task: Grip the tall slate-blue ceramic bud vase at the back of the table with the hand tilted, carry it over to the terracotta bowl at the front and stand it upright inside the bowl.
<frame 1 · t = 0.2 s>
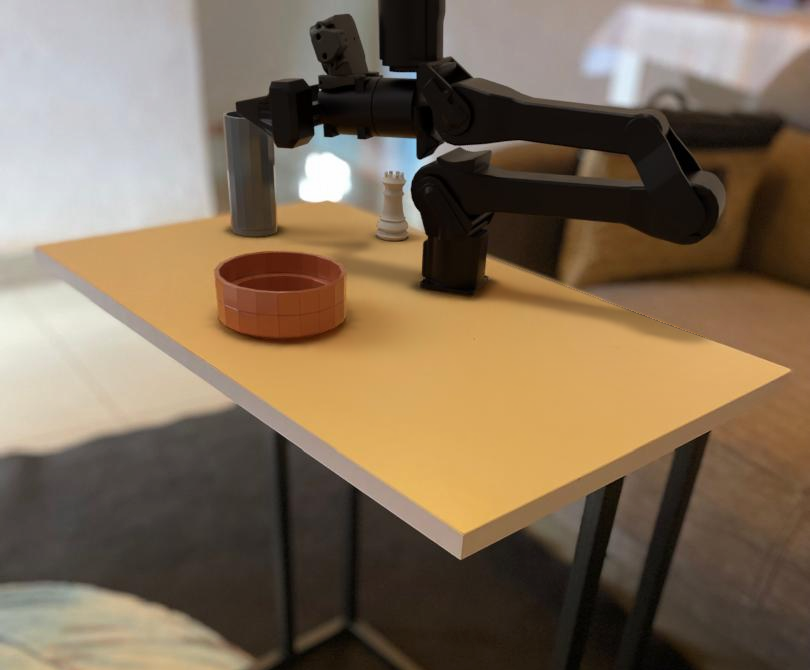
hand: (258, 101, 95), 17 cm above the table, tool horizontal, fingers open, 9 cm apart
bowl: (282, 318, 87), on the table
vase: (254, 230, 112), on the table
rook chess piece: (392, 238, 112), on the table
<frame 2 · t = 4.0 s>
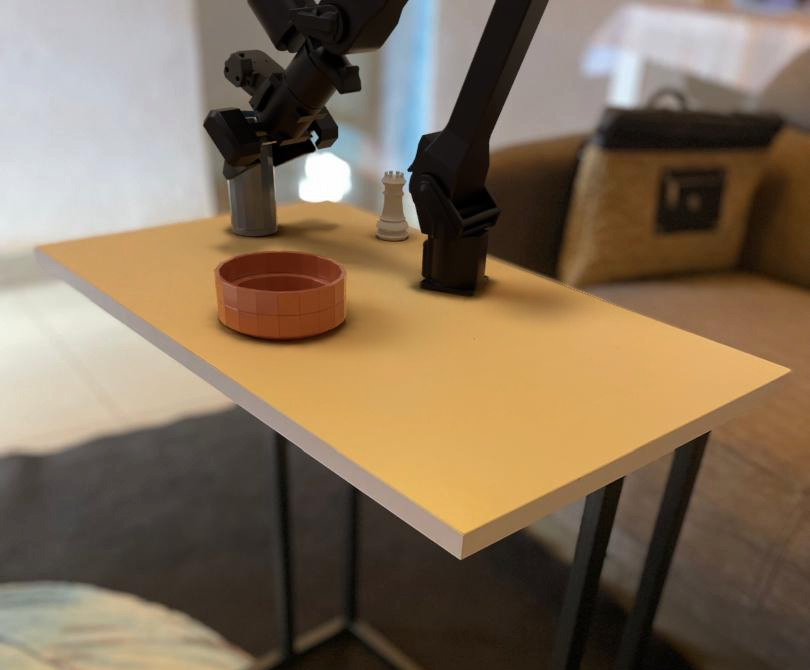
hand: (243, 172, 108), 7 cm above the table, tool tilted 45°, fingers closed on vase, 6 cm apart
vase: (255, 230, 112), on the table, touching gripper
everything else where it was.
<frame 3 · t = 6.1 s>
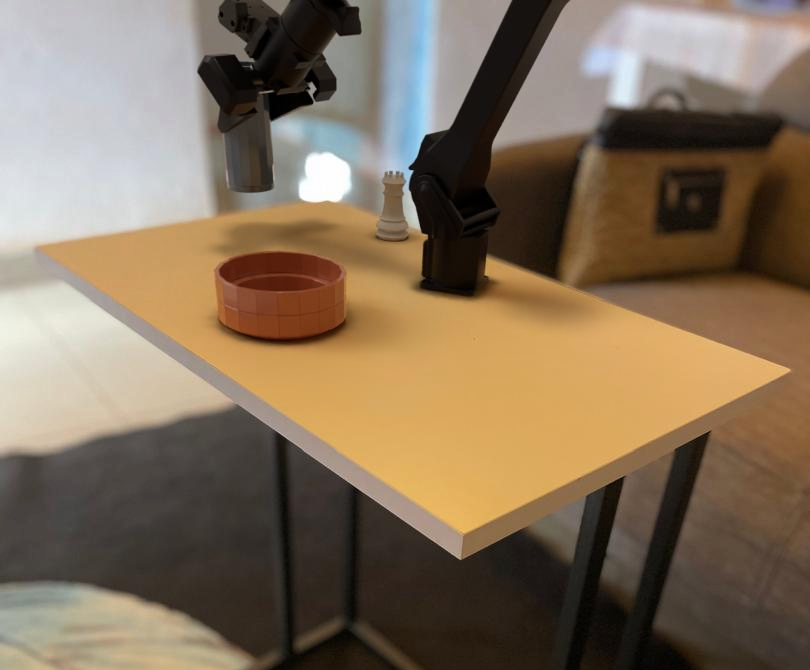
hand: (238, 126, 105), 12 cm above the table, tool tilted 45°, fingers closed on vase, 6 cm apart
vase: (251, 187, 108), point 6 cm above the table, touching gripper
everything else where it was.
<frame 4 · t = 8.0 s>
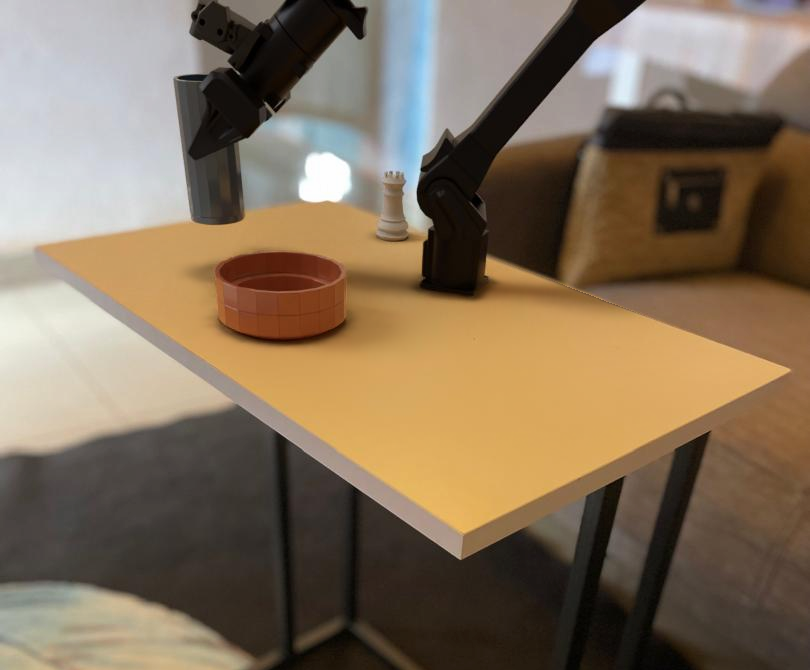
hand: (199, 150, 91), 13 cm above the table, tool tilted 45°, fingers closed on vase, 6 cm apart
vase: (218, 217, 95), point 6 cm above the table, touching gripper
everything else where it was.
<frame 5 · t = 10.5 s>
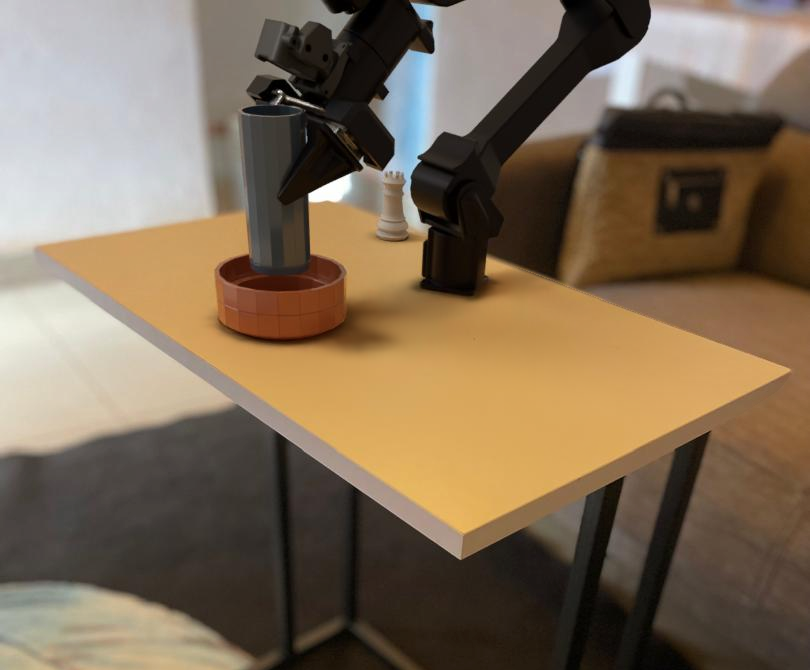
hand: (264, 194, 79), 12 cm above the table, tool tilted 45°, fingers closed on vase, 6 cm apart
vase: (280, 265, 83), point 5 cm above the table, touching gripper
everything else where it was.
when the fingers open (8 cm above the table, at t = 12.5 s): vase stays where it is, resting on bowl.
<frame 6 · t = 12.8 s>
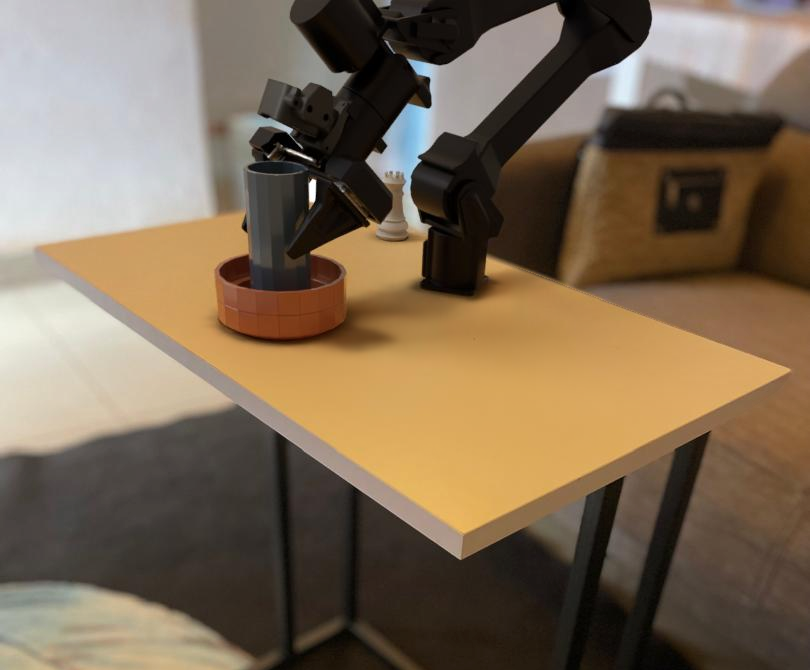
hand: (266, 243, 81), 8 cm above the table, tool tilted 45°, fingers open, 9 cm apart
vase: (282, 312, 86), point 1 cm above the table, touching bowl
everything else where it was.
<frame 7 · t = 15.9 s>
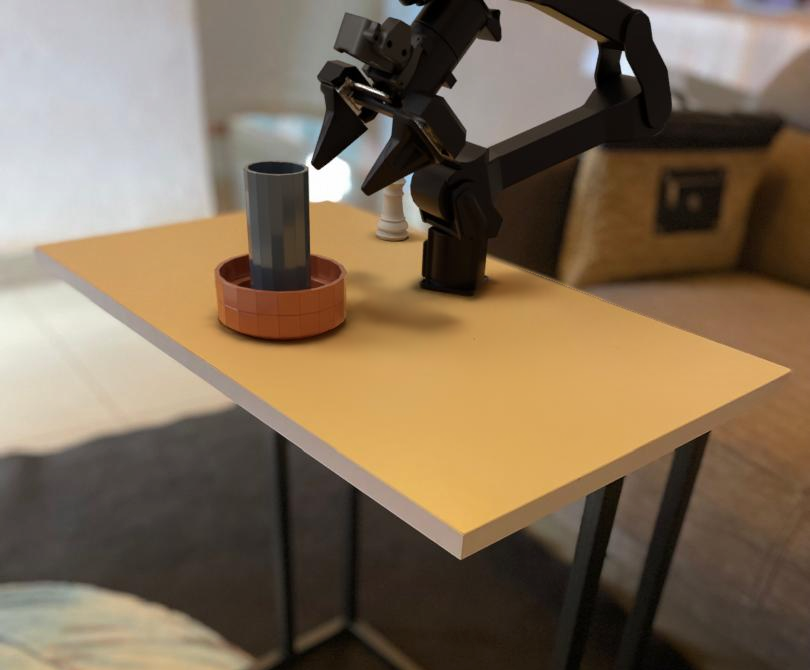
hand: (338, 179, 83), 13 cm above the table, tool tilted 45°, fingers open, 9 cm apart
nothing on the table moved.
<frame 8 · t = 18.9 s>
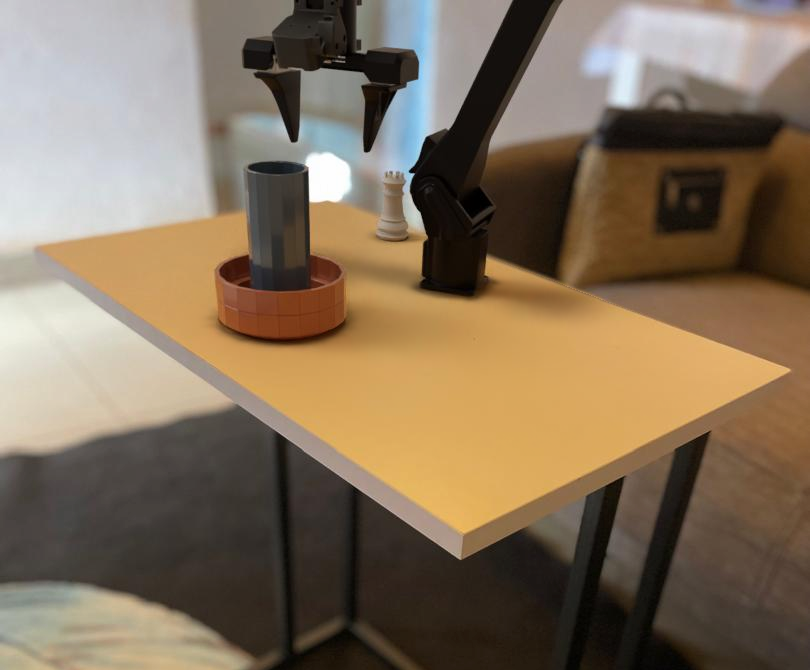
hand: (330, 147, 95), 13 cm above the table, tool pointing down, fingers open, 9 cm apart
nothing on the table moved.
at the end: vase 0.0 cm off-centre in the bowl, point 0.6 cm above the bowl's base; vase tilted 0°; the gripper is holding nothing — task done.
